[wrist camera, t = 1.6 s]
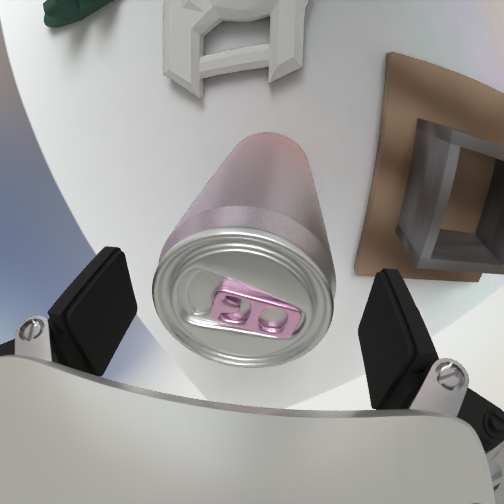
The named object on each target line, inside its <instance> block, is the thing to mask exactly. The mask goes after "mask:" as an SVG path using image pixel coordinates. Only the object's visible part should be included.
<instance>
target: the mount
mask: <svg viewBox="0 0 504 504" xmlns="http://www.w3.org/2000/svg"><path fill="white" fill-rule="evenodd" d="M112 1H113V0H47V1H46V2H44V3H43V7H44V12H45V16H44V23H45V25H46V26H48V27H60V26H63V25H66V24H70V23H73V22H77V21H80V20H82V19H84V18H85V17H87V16H88V15H90V14H92V13H93V12H95V11H96V10H98V9H100V8H101V7H103V6H105V5H106V4H108V3H110V2H112Z"/></svg>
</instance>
